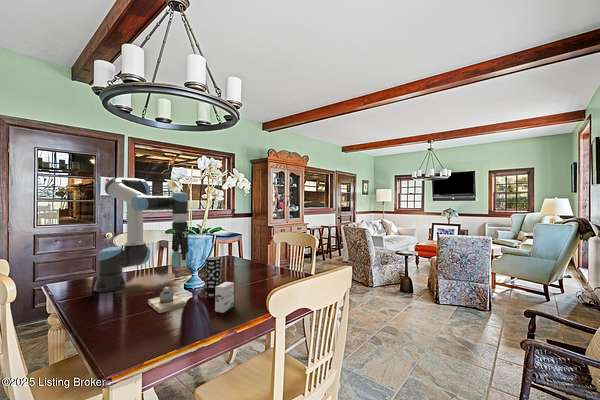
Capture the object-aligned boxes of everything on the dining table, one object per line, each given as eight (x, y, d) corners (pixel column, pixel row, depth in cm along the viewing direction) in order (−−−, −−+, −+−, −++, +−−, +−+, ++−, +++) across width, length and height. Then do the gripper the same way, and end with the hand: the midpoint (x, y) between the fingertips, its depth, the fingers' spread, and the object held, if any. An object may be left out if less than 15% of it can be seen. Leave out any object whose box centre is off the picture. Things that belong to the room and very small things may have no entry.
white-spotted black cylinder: (202, 295, 149) (202, 258, 149) (216, 291, 155) (216, 256, 155) (210, 299, 143) (210, 260, 143) (224, 295, 149) (224, 258, 149)
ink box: (226, 305, 136) (226, 280, 136) (234, 306, 134) (234, 282, 134) (214, 311, 128) (214, 285, 128) (223, 313, 126) (223, 287, 126)
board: (147, 303, 136) (147, 299, 136) (172, 297, 145) (173, 294, 145) (159, 313, 125) (159, 308, 125) (185, 306, 133) (185, 302, 133)
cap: (169, 265, 146) (169, 252, 146) (183, 262, 151) (183, 250, 151) (175, 267, 140) (175, 254, 140) (190, 265, 146) (190, 252, 146)
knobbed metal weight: (157, 300, 135) (157, 287, 135) (170, 297, 139) (170, 285, 139) (162, 304, 131) (162, 290, 131) (175, 301, 135) (175, 287, 135)
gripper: (165, 220, 150) (164, 262, 150) (181, 223, 136) (180, 269, 136) (178, 220, 156) (178, 260, 155) (195, 222, 141) (195, 266, 141)
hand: (179, 264), depth 146 cm, fingers closed on cap, 8 cm apart
